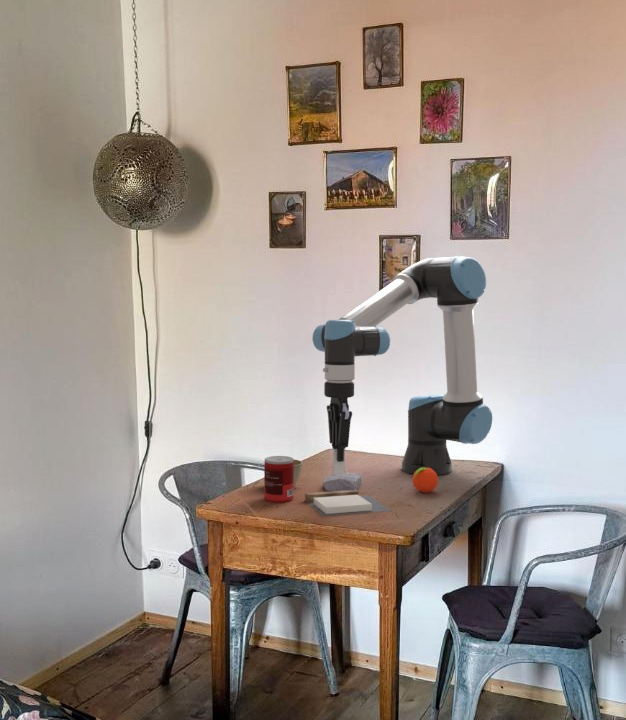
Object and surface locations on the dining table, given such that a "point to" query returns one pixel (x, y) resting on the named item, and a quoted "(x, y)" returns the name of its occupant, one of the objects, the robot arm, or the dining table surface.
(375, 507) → the mat
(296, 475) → the flower pot
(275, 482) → the canned food
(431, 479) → the clementine
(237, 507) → the dining table surface
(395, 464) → the dining table surface
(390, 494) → the dining table surface
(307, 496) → the strip
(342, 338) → the robot arm
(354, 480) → the stone block
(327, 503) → the tile
